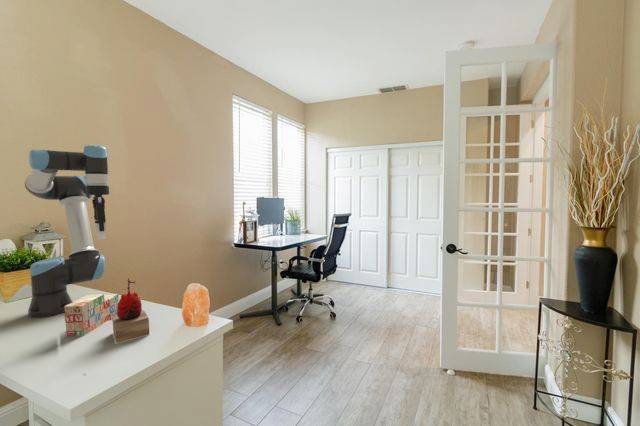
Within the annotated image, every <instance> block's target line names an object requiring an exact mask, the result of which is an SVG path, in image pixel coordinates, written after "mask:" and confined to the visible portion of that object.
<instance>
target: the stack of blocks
mask: <svg viewBox="0 0 640 426" xmlns="http://www.w3.org/2000/svg"><path fill="white" fill-rule="evenodd" d="M119 301H120V299H119V294H118V293H112V294H105V293H99V294H97V293H96V294H87V295H85V296H83V297H80V298H79V299H76V300H75V301H72V302H73V303H70V304H68V305H66V306H64V308H65V312H64V320H65V327H66V328H65V330H66V333H65V334H66V337H84V336H86V335H88V334H89V333H91V332H92V331H94V330H96V329H97V328H99V327H100V326H102V325H103V324H105V323H106V322H108V321H113V319H112V317H115V316H118V315H117V307H118V303H119Z"/></svg>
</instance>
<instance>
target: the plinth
mask: <svg viewBox="0 0 640 426" xmlns="http://www.w3.org/2000/svg"><path fill="white" fill-rule="evenodd" d="M112 319H113V320H112V330H113V331H112V333H114V336H115V340H116V343H117V344H120V343H119V342H121V343H124V342H123V341H125V342H127V341H126V340H129V341H131V340H130V339H132V340H135V339H134V338H136V339H139V338H138V337H140V338H142V337H141V336H143V337H146V336H145V335H147V336H150V335H149V334H150V333H151V332H150V319H149V316H148V314H147V313H146V312H145V310H144V309H143V310H142V311H141V314H140V315H139V316H138V317H136V318H133V319H129V320H122V319H120V318H119V317H118V316H115V317H112ZM149 332H150V333H149Z"/></svg>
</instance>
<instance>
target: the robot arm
mask: <svg viewBox="0 0 640 426" xmlns="http://www.w3.org/2000/svg"><path fill="white" fill-rule="evenodd" d="M28 154H29V155H28V157H29V158H28V160H29V166H30V168H31V169H32V170H31V172H30V174H29V175H28V176H26V178H25V181H24V188H25V189H26V190H27V192H28V193H30V194H31V195H32V196H33V197H37V198H39V199H42V200H49V201H54V200H55V201H57V200H59V204H60V205H62V206H63V207H64V212H65V218H66V224H67V228H68V236H69V242H70V248H71V252H70V253H69V254H68V258H65V257H64V256H56V257H54V256H53V257H48V258H45V259H40V260H38V261H36V262H33V263H32V264H31V265H30V268H29V270H30V273H29V277H30V282H31V284H30V285H31V296H32V297H31V300H30V303H29V306H28V309H27V314H28V316H27V317H28V318H36V319H37V318H45V317H50V316H51V317H52V316H56V315H59V314H63V313H65V308H64V306H66V305H68V304H70V303H73V302H74V301H73V300H72V298H71V296H70V294H69V292H68V290H67V289H68V288H67V286H68V285H69V286H70V285H75V284H78V283H80V284H81V283H84V282H91V281H94V280H99V279H101V278H102V277H103V276H104V274H105V269H106V258H105V255H104V254H102V253H100V250H98V249H96V248H95V245H94V240H93V235H92V229H91V224H90V218H89V213H88V212H89V211H88V207H87V204H88V203H89V202H90V199H91V200H92V202H91V203H92V208H93V210H94V211H93V218H94V230H95V231H94V232H95V237H97V240H98V241H102V240H107V227H106V224H107V223H106V221H107V219H106V213H105V211H106V206H105V204H106V201H105V198H104V196H108V195H110V186H109V184H110V182H109V181H110V180H109V179H110V178H109V170H108V169H109V167H108V153H107V148H106V147H105V146H103V145H90V144H89V145H84V146H83V152H81V151H80V152H79V151H64V150H63V151H62V150H49V149H32V150H29V153H28ZM58 171H73V172H75V171H77V172H84V174H85V176H81V175H80V176H79V175H71V176H70V175H66V176H65V175H57V174H58ZM92 197H93V198H92Z"/></svg>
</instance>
